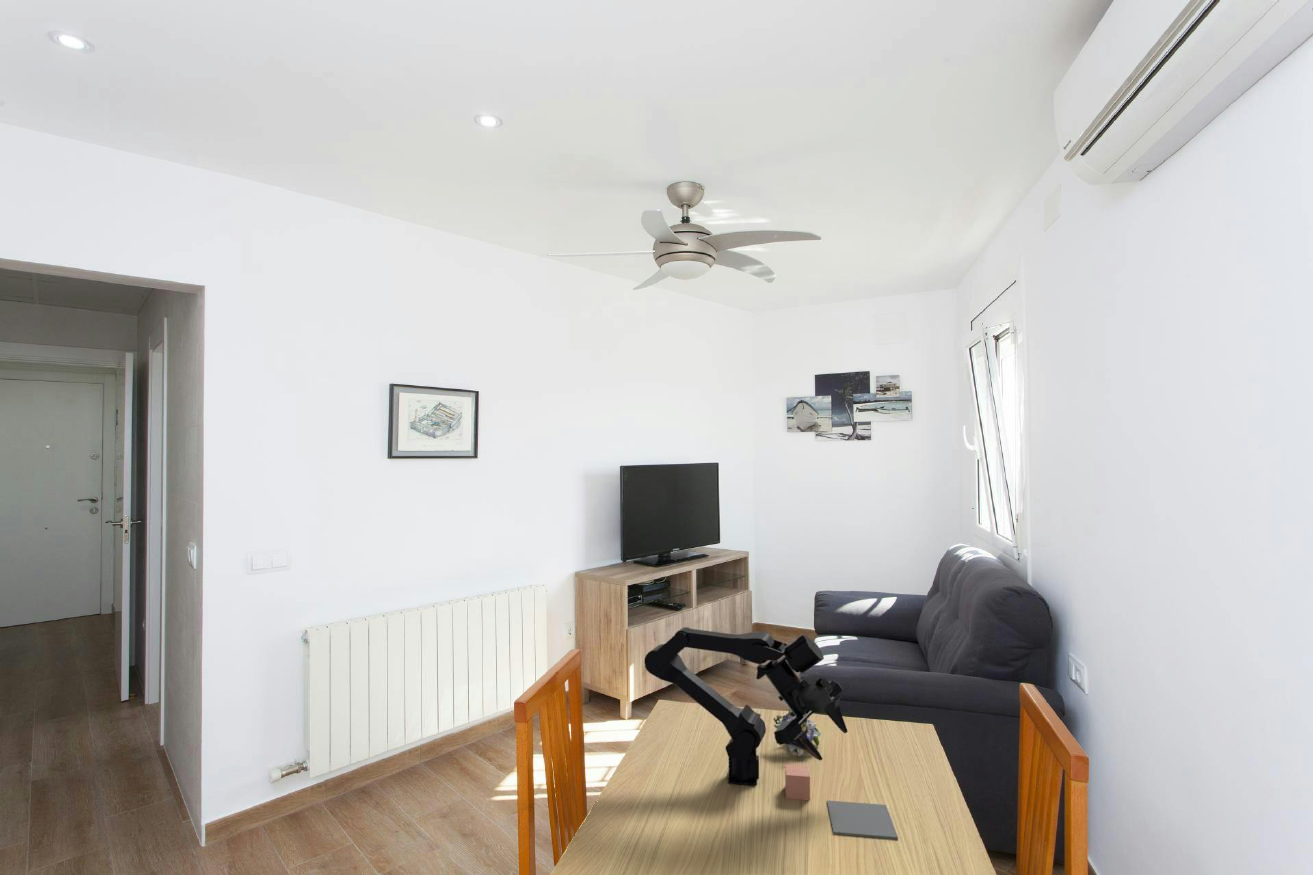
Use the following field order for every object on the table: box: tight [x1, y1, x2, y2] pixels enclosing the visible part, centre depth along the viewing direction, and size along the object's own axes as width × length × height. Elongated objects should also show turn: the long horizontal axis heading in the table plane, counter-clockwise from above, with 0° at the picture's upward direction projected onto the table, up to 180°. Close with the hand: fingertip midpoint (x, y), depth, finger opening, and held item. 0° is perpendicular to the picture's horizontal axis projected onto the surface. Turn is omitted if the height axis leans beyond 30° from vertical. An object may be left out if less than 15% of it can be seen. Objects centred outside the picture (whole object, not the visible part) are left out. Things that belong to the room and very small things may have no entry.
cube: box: [784, 764, 811, 801], centre depth 144 cm, size 5×5×5 cm
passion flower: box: [773, 708, 822, 757], centre depth 166 cm, size 11×11×12 cm
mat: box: [826, 799, 899, 840], centre depth 133 cm, size 12×12×1 cm
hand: (833, 745), depth 143 cm, fingers open, 9 cm apart
